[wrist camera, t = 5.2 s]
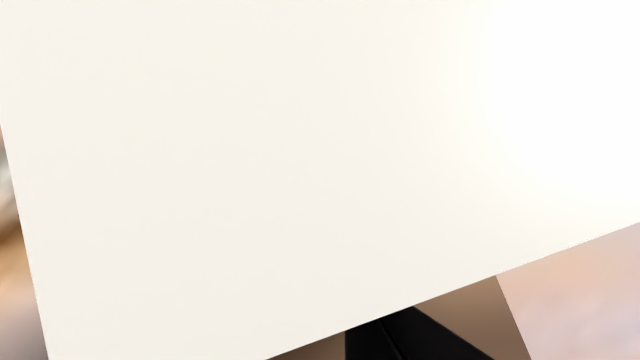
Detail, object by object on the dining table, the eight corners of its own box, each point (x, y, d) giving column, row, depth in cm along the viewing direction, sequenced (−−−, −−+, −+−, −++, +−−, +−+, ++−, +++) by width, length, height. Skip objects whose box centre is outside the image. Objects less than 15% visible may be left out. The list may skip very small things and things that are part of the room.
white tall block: (413, 279, 15) (843, 147, 3) (249, 338, 14) (64, 433, 3) (366, 156, 16) (571, -285, 4) (210, 206, 15) (-58, -159, 4)
